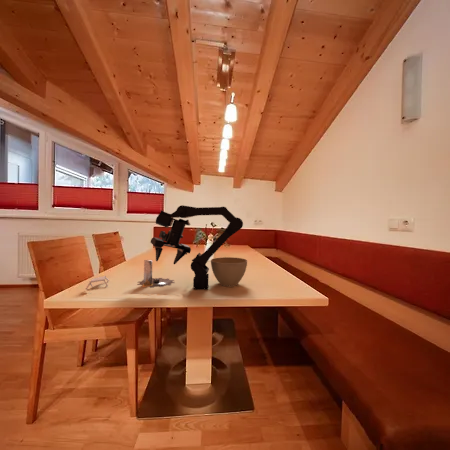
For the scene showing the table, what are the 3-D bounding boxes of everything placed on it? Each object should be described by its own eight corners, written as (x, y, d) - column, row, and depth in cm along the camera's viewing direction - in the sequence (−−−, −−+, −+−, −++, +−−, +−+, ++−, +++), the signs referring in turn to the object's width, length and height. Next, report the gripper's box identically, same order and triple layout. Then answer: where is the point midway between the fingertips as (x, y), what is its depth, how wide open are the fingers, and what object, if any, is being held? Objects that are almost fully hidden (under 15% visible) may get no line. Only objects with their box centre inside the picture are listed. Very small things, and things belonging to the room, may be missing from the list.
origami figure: (105, 293, 100) (105, 281, 100) (84, 293, 99) (84, 281, 99) (115, 285, 112) (115, 275, 112) (96, 285, 111) (96, 275, 111)
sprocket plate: (177, 281, 122) (177, 275, 122) (171, 291, 105) (171, 284, 105) (143, 280, 122) (143, 274, 122) (131, 290, 105) (131, 283, 105)
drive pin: (151, 283, 111) (152, 259, 111) (152, 285, 108) (152, 261, 107) (143, 283, 110) (144, 259, 110) (143, 286, 106) (144, 261, 106)
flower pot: (222, 278, 132) (223, 256, 132) (252, 283, 122) (253, 259, 122) (203, 285, 117) (203, 260, 116) (235, 291, 107) (236, 264, 107)
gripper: (185, 231, 124) (175, 259, 124) (152, 222, 112) (141, 253, 113) (196, 237, 115) (185, 267, 116) (160, 228, 104) (148, 261, 104)
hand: (165, 262), depth 112 cm, fingers open, 9 cm apart
